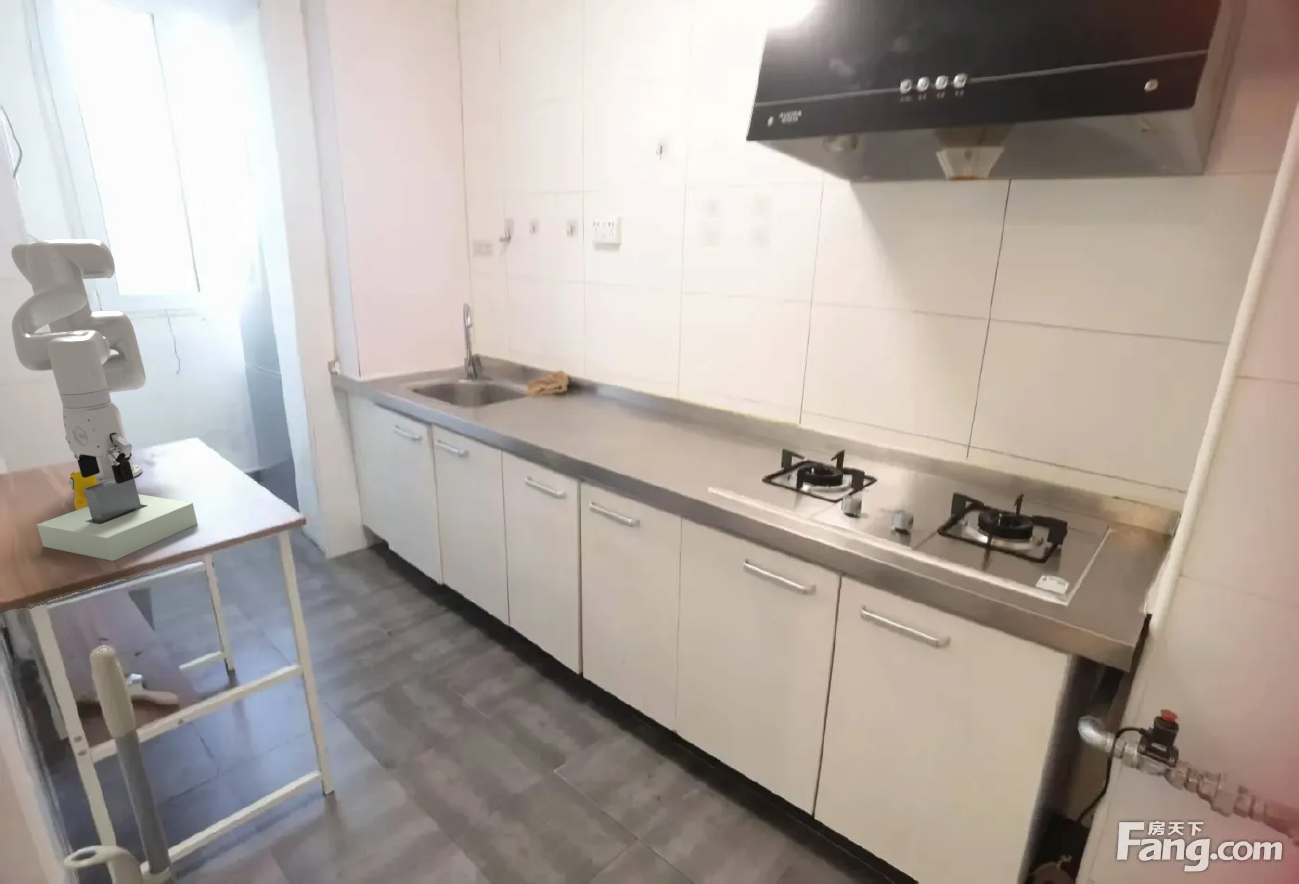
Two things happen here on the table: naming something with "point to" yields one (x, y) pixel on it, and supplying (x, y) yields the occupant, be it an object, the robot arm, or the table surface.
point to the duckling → (81, 488)
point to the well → (118, 529)
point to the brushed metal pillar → (112, 500)
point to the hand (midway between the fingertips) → (108, 478)
